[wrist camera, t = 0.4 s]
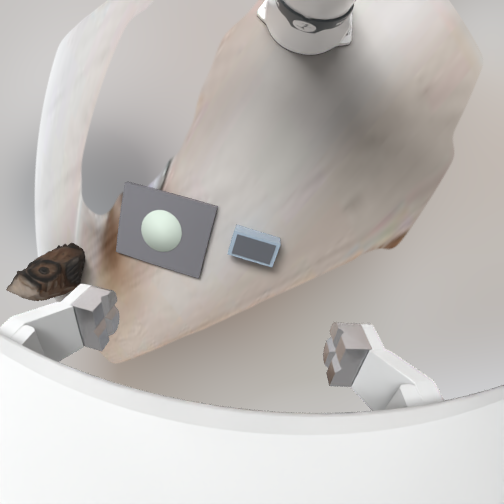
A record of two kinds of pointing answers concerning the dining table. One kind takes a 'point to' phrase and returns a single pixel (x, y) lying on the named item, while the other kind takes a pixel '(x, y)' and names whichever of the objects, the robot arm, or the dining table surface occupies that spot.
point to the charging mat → (164, 228)
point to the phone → (254, 246)
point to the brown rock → (50, 274)
